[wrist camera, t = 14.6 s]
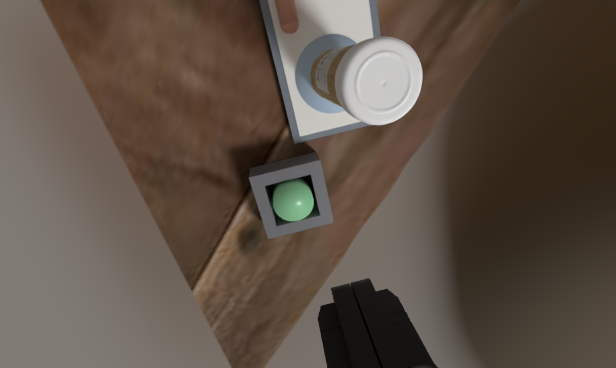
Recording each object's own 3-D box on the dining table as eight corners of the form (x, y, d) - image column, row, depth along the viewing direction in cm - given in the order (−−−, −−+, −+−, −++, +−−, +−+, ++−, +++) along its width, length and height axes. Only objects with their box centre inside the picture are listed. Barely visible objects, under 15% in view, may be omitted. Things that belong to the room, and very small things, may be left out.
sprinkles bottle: (333, 109, 30) (380, 143, 17) (299, 76, 28) (323, 85, 16) (367, 73, 29) (442, 81, 16) (333, 36, 27) (388, 13, 15)
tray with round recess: (245, -58, 25) (244, -63, 24) (364, -85, 25) (368, -91, 24) (293, 142, 31) (294, 145, 30) (387, 119, 31) (391, 121, 30)
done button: (268, 178, 32) (268, 189, 29) (305, 169, 32) (309, 179, 29) (278, 211, 33) (278, 225, 31) (313, 203, 33) (317, 215, 31)
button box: (250, 167, 32) (248, 177, 29) (315, 151, 32) (320, 159, 29) (268, 224, 34) (268, 239, 31) (328, 209, 34) (333, 222, 32)
